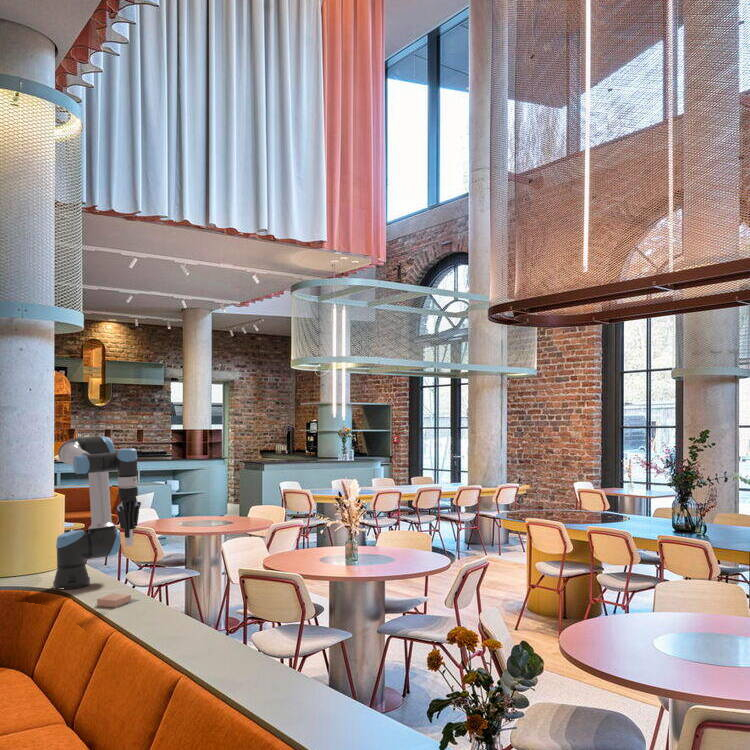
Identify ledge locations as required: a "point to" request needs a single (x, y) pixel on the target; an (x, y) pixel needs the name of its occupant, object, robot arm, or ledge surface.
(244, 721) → the ledge surface
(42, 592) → the ledge surface
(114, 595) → the block
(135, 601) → the mat
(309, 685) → the ledge surface
